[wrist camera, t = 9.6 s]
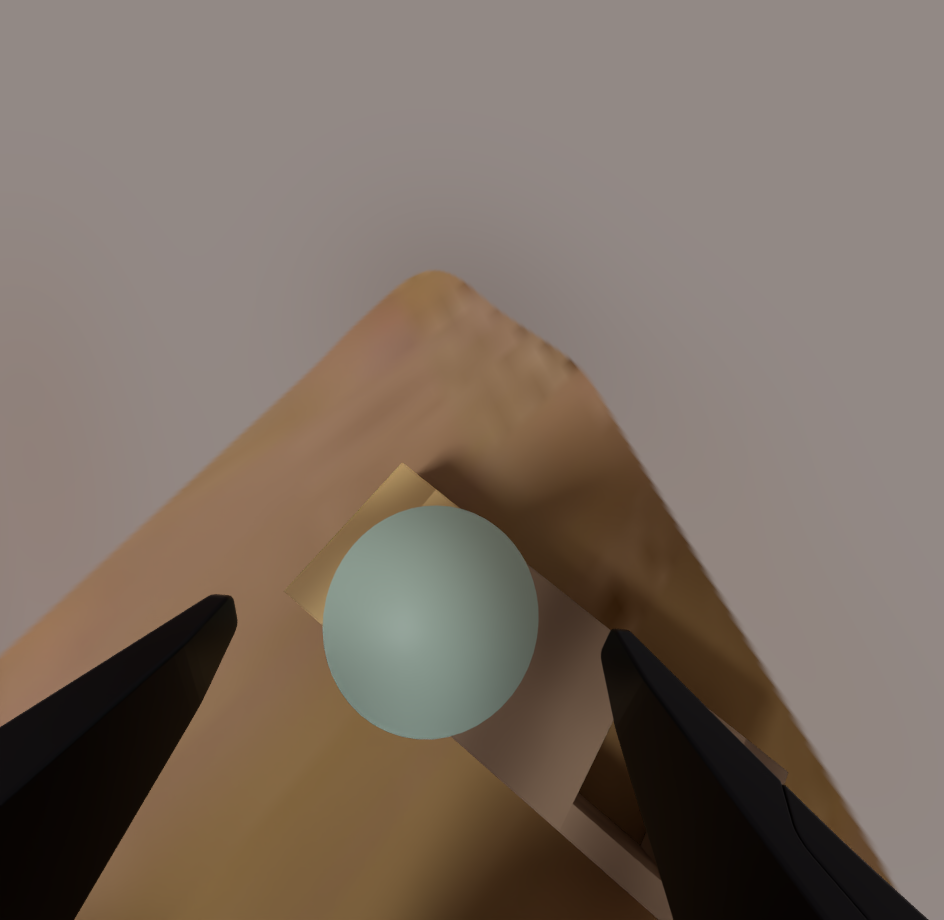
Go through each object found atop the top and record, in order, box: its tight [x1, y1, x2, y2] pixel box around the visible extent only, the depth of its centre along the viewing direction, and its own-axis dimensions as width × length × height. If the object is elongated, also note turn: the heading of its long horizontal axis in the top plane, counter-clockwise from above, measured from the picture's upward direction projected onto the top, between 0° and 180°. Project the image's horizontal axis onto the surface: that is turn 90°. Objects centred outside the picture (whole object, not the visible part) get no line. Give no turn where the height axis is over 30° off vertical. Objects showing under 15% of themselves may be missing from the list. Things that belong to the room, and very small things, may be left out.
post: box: [323, 505, 539, 739], centre depth 12 cm, size 4×4×13 cm
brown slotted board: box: [284, 463, 788, 920], centre depth 16 cm, size 21×7×3 cm, turn 53°
